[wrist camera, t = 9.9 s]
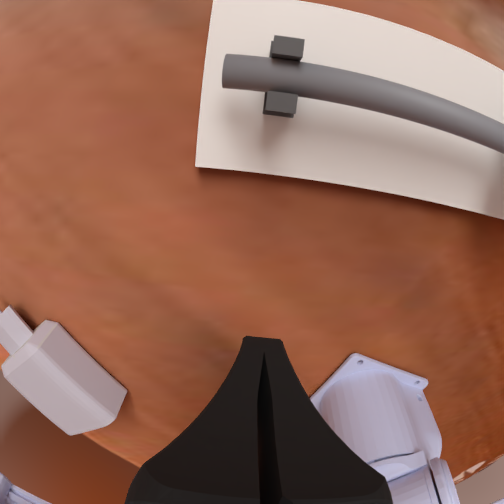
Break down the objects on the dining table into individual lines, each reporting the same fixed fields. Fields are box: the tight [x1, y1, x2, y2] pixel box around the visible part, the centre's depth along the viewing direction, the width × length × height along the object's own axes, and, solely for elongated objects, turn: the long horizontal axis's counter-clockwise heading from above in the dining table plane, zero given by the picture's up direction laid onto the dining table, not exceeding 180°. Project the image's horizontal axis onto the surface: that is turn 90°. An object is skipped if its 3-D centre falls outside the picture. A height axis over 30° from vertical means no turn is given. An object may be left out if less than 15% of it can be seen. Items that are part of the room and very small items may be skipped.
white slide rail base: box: [195, 0, 504, 220], centre depth 13 cm, size 29×10×6 cm, turn 84°
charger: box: [0, 304, 127, 435], centre depth 23 cm, size 5×9×15 cm
